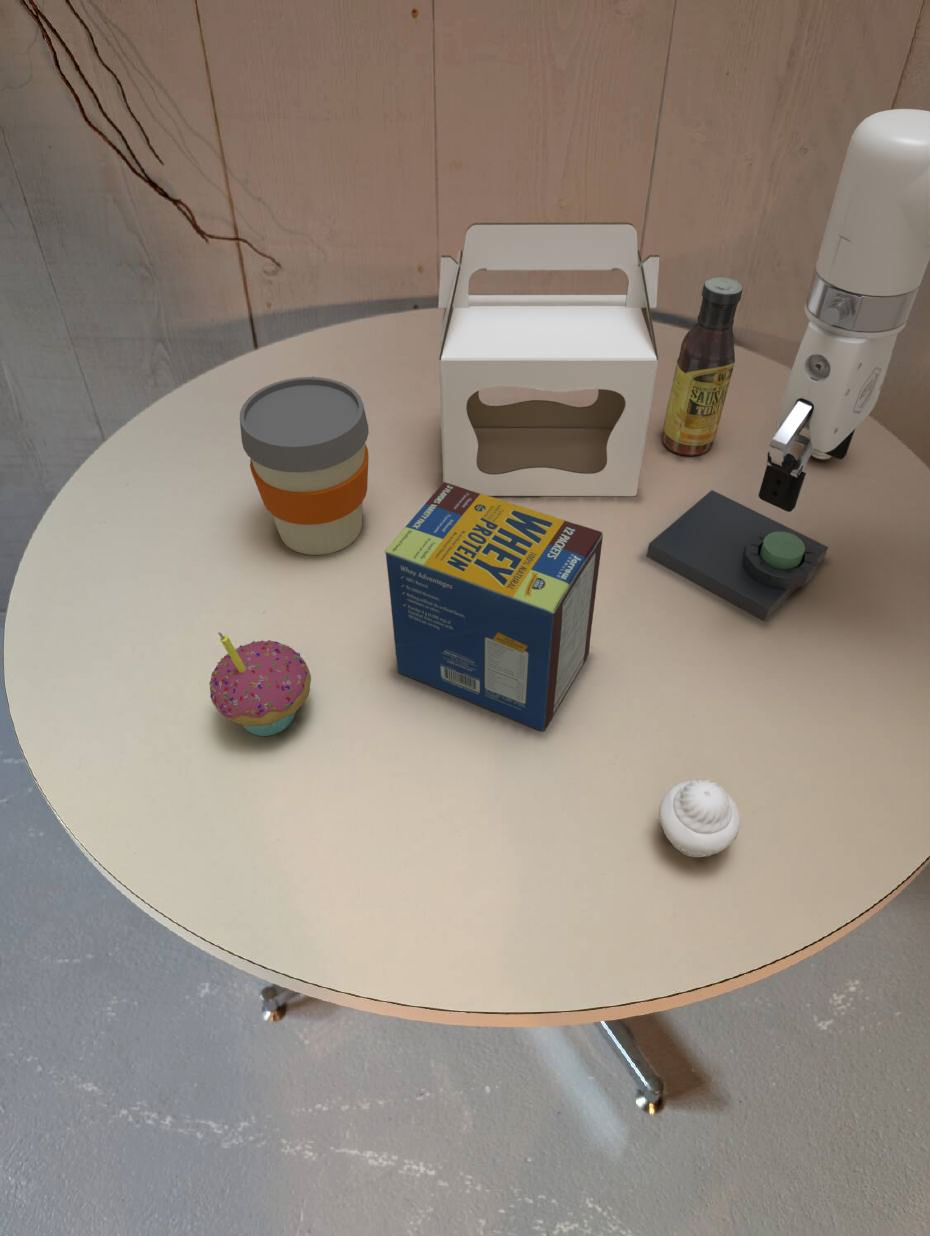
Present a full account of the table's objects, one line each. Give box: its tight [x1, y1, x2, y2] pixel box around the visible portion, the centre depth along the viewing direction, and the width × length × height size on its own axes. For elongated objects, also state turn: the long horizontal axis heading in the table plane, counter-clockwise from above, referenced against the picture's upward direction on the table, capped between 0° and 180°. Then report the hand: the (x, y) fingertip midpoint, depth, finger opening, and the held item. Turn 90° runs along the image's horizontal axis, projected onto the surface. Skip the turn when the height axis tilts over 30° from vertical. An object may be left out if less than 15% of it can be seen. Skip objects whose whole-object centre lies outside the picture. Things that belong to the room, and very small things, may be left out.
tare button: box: [760, 532, 805, 570], centre depth 90 cm, size 4×4×2 cm
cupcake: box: [208, 631, 312, 737], centre depth 77 cm, size 9×8×12 cm
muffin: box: [658, 778, 741, 858], centre depth 70 cm, size 6×6×7 cm
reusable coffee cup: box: [239, 376, 370, 556], centre depth 94 cm, size 12×13×15 cm
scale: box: [646, 489, 829, 622], centre depth 94 cm, size 15×12×4 cm
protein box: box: [384, 482, 604, 732], centre depth 80 cm, size 10×15×16 cm
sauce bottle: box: [661, 276, 743, 457], centre depth 102 cm, size 7×6×20 cm
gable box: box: [437, 221, 660, 497], centre depth 97 cm, size 22×13×28 cm, turn 89°
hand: (802, 477), depth 81 cm, fingers open, 9 cm apart
